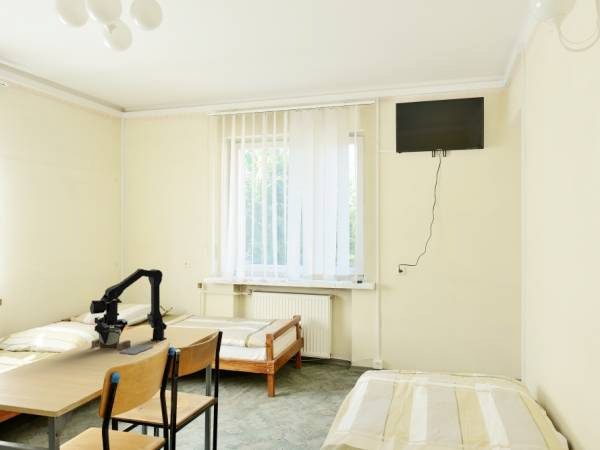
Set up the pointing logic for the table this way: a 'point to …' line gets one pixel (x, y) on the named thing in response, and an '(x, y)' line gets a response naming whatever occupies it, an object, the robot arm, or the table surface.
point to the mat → (136, 349)
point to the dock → (119, 346)
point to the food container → (110, 339)
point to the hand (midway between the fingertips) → (111, 341)
